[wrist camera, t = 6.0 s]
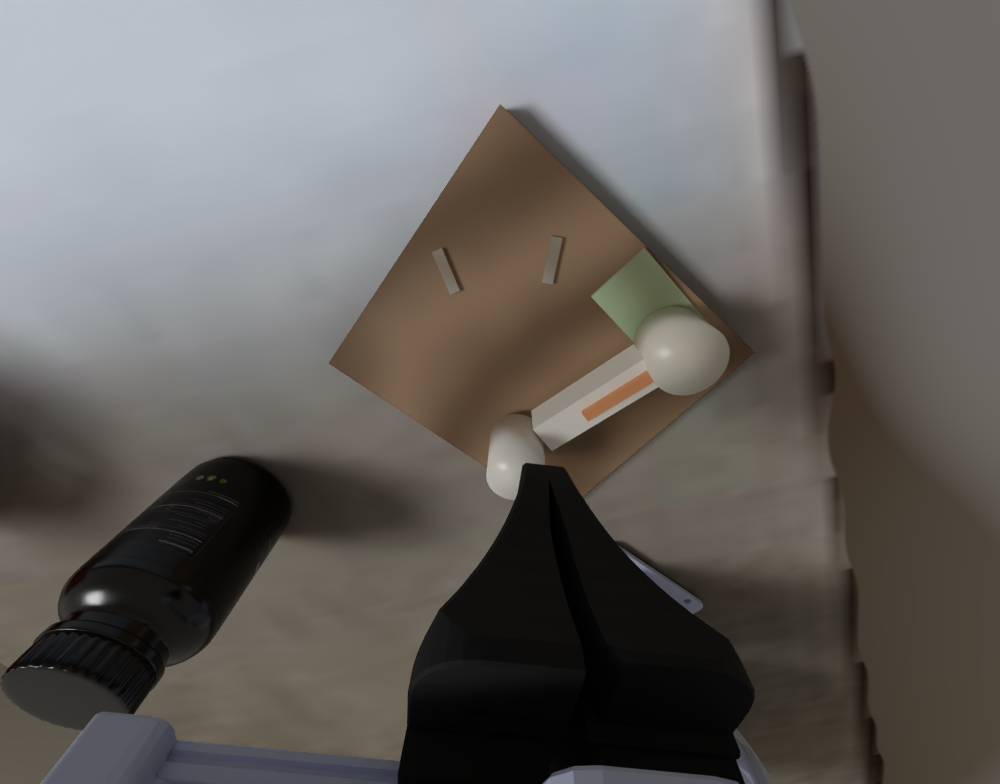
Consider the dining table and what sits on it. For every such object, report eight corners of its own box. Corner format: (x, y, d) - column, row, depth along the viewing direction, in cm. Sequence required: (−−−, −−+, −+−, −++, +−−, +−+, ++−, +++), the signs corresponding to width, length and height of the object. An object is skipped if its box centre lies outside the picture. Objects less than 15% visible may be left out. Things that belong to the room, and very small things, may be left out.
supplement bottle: (300, 539, 28) (172, 753, 18) (201, 527, 28) (11, 738, 18) (289, 460, 25) (126, 663, 15) (178, 447, 25) (-71, 643, 14)
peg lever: (513, 467, 23) (513, 511, 20) (477, 429, 22) (471, 469, 19) (715, 345, 19) (752, 375, 16) (683, 292, 18) (717, 314, 15)
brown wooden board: (742, 343, 21) (757, 353, 20) (557, 502, 26) (559, 518, 25) (501, 109, 17) (500, 103, 15) (337, 354, 22) (327, 364, 21)
